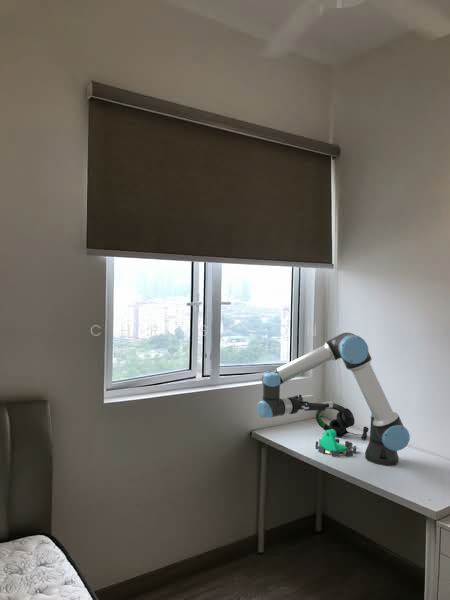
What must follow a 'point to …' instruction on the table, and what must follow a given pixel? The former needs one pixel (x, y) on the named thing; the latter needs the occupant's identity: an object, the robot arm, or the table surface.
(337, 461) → the table surface
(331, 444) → the camera mount
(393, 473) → the table surface
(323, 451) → the ring collar
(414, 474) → the table surface
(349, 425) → the headset
